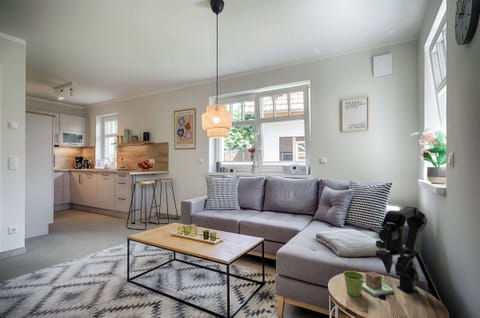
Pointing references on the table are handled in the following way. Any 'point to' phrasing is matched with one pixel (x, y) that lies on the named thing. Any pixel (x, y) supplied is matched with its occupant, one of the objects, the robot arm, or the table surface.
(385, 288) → the green tray
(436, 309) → the table surface
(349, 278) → the plant pot
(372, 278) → the walnut block
